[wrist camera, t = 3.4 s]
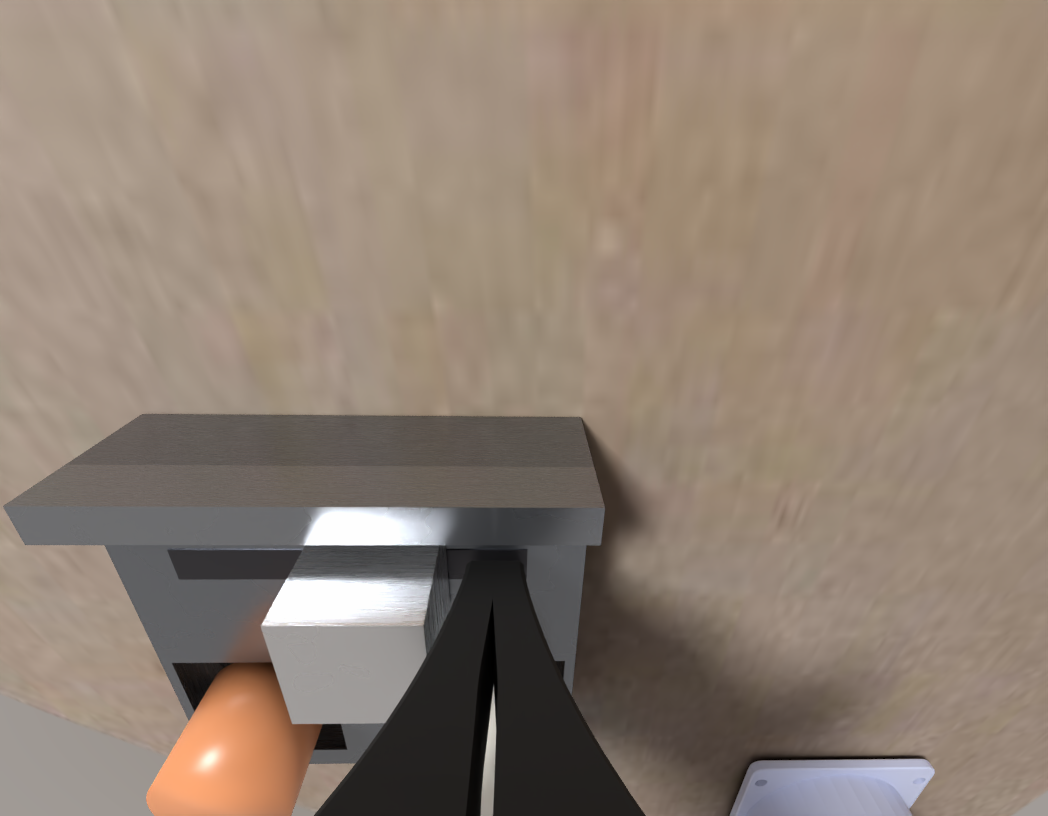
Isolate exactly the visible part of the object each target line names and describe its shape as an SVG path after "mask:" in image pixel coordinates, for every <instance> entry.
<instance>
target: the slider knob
mask: <svg viewBox="0 0 1048 816" xmlns="http://www.w3.org/2000/svg"><path fill="white" fill-rule="evenodd" d="M449 611H450V597H449V583H448V569H447V555H446V545H305V547H304V549H303V551H302V552H301V554H300V556H299V558H298V560H297V561H296V563H295V565H294V567H293V569H292V570H291V572H290V574H289V576H288V578H287V579H286V581H285V583H284V585H283V587H282V589H281V590H280V592H279V594H278V596H277V598H276V599H275V601H274V603H273V605H272V607H271V608H270V610H269V612H268V614H267V616H266V617H265V619H264V621H263V623H262V625H261V629H262V632H263V636H264V639H265V642H266V645H267V648H268V651H269V654H270V657H271V660H272V663H273V666H274V669H275V672H276V676H277V679H278V682H279V685H280V688H281V691H282V694H283V697H284V700H285V703H286V706H287V709H288V712H289V716H290V719H291V722H292V724H366V723H385V722H386V721H387V719H388V718H389V717H390V715H391V713H392V712H393V710H394V709H395V707H396V706H397V704H398V703H399V701H400V700H401V698H402V697H403V695H404V693H405V692H406V690H407V689H408V687H409V685H410V684H411V682H412V680H413V679H414V677H415V675H416V674H417V672H418V670H419V668H420V667H421V665H422V663H423V661H424V660H425V658H426V656H427V654H428V652H429V651H430V649H431V647H432V645H433V643H434V641H435V640H436V638H437V636H438V634H439V632H440V630H441V627H442V625H443V623H444V621H445V619H446V617H447V615H448V613H449Z"/></svg>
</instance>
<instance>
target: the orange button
mask: <svg viewBox="0 0 1048 816" xmlns="http://www.w3.org/2000/svg"><path fill="white" fill-rule="evenodd" d="M322 725H323V724H292V722H291V719H290V716H289V712H288V709H287V706H286V703H285V700H284V697H283V694H282V691H281V688H280V685H279V682H278V679H277V676H276V672H275V669H274V666H273V663H272V662H250V663H233V664H230V665H228V666H226V667H225V668H223V669H222V670H221V671H220V672H219V673H218V674H217V675H216V676H215V678H214V680H213V681H212V683H211V685H210V686H209V688H208V690H207V691H206V693H205V695H204V697H203V698H202V700H201V702H200V703H199V705H198V707H197V708H196V710H195V712H194V714H193V715H192V717H191V719H190V720H189V722H188V724H187V725H186V727H185V729H184V731H183V732H182V734H181V736H180V737H179V739H178V741H177V743H176V744H175V746H174V748H173V749H172V751H171V753H170V754H169V756H168V758H167V760H166V761H165V763H164V765H163V766H162V768H161V770H160V771H159V773H158V775H157V777H156V778H155V780H154V782H153V783H152V785H151V787H150V788H149V790H148V793H147V798H146V800H147V805H148V807H149V809H150V810H151V812H152V813H153V814H154V815H155V816H291V815H292V812H293V809H294V806H295V803H296V800H297V797H298V795H299V792H300V789H301V786H302V783H303V780H304V777H305V774H306V771H307V768H308V765H309V763H310V760H311V757H312V754H313V751H314V748H315V745H316V742H317V739H318V736H319V733H320V731H321V728H322Z"/></svg>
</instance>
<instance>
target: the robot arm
mask: <svg viewBox="0 0 1048 816" xmlns="http://www.w3.org/2000/svg"><path fill="white" fill-rule="evenodd" d="M493 686H494V697H495V717H496V752H495V778H494V802H493V816H646V815H645V814H644V813H643V811H642V810H641V808H640V807H639V806H638V804H637V803H636V801H635V800H634V798H633V797H632V796H631V794H630V793H629V791H628V789H627V788H626V786H625V785H624V783H623V782H622V780H621V778H620V777H619V775H618V774H617V772H616V771H615V769H614V768H613V766H612V764H611V763H610V761H609V760H608V758H607V757H606V755H605V754H604V752H603V750H602V749H601V747H600V746H599V744H598V742H597V741H596V739H595V737H594V735H593V734H592V732H591V730H590V728H589V727H588V725H587V723H586V721H585V720H584V718H583V716H582V714H581V712H580V711H579V709H578V707H577V705H576V703H575V701H574V699H573V697H572V695H571V694H570V692H569V690H568V688H567V686H566V684H565V681H564V679H563V677H562V675H561V673H560V671H559V669H558V667H557V664H556V662H555V660H554V658H553V656H552V653H551V651H550V649H549V646H548V644H547V641H546V639H545V636H544V634H543V631H542V629H541V626H540V623H539V621H538V618H537V615H536V612H535V609H534V606H533V603H532V600H531V597H530V593H529V589H528V586H527V581H526V576H525V571H524V564H523V563H521V562H520V561H470V562H469V563H468V564H467V565H466V569H465V573H464V576H463V579H462V582H461V584H460V587H459V590H458V592H457V595H456V597H455V599H454V602H453V604H452V606H451V609H450V611H449V613H448V615H447V617H446V619H445V621H444V623H443V625H442V627H441V630H440V632H439V634H438V636H437V638H436V640H435V641H434V643H433V645H432V647H431V649H430V651H429V652H428V654H427V656H426V658H425V660H424V661H423V663H422V665H421V667H420V668H419V670H418V672H417V674H416V675H415V677H414V679H413V680H412V682H411V684H410V685H409V687H408V689H407V690H406V692H405V693H404V695H403V697H402V698H401V700H400V701H399V703H398V704H397V706H396V707H395V709H394V710H393V712H392V713H391V715H390V717H389V718H388V719H387V721H386V722H385V724H384V725H383V727H382V728H381V729H380V731H379V732H378V734H377V735H376V736H375V738H374V739H373V741H372V742H371V743H370V745H369V746H368V748H367V749H366V751H365V752H364V753H363V755H362V756H361V757H360V759H359V760H358V761H357V763H356V764H355V765H354V766H353V768H352V769H351V770H350V772H349V773H348V774H347V775H346V777H345V778H344V779H343V780H342V782H341V783H340V784H339V785H338V787H337V788H336V789H335V790H334V791H333V793H332V794H331V795H330V796H329V798H328V799H327V800H326V801H325V803H324V804H323V805H322V806H321V808H320V809H319V810H318V811H317V812H316V814H315V815H314V816H481V795H482V783H483V771H484V762H485V754H486V745H487V737H488V729H489V720H490V712H491V703H492V695H493ZM934 772H935V770H934V768H933V767H932V765H931V764H930V763H929V761H927V760H925V759H842V760H761V761H756V762H753V763H752V764H751V765H750V766H749V768H748V771H747V773H746V776H745V778H744V781H743V783H742V786H741V788H740V791H739V793H738V796H737V798H736V801H735V803H734V806H733V808H732V811H731V813H730V816H913V815H912V813H911V812H910V810H909V809H910V807H911V806H912V804H913V803H914V802H915V800H916V799H917V797H918V796H919V795H920V793H921V792H922V790H923V789H924V788H925V786H926V785H927V783H928V782H929V781H930V779H931V778H932V776H933V775H934Z"/></svg>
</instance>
